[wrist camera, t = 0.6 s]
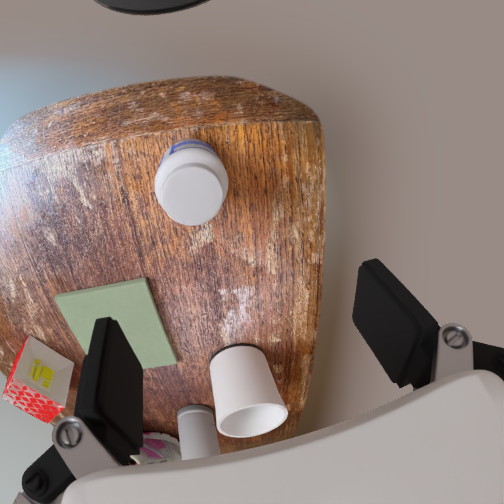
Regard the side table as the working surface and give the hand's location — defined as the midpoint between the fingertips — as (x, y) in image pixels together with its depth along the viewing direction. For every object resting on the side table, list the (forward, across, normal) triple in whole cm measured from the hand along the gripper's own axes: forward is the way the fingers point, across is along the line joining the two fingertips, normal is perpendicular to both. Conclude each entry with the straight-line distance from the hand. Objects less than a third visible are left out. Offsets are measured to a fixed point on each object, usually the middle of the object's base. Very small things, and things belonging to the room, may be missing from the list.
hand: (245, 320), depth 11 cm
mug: (+20, 0, +28) cm, 34 cm away
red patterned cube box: (+20, +29, +21) cm, 41 cm away
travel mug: (+19, +10, +39) cm, 44 cm away
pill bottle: (+20, +1, -1) cm, 20 cm away
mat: (+20, +14, +17) cm, 29 cm away
